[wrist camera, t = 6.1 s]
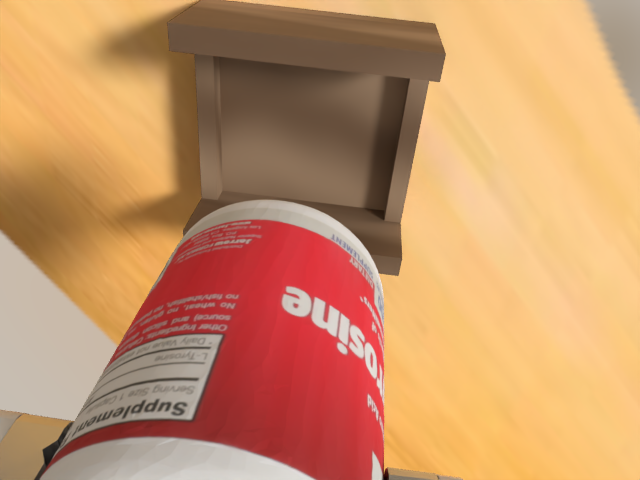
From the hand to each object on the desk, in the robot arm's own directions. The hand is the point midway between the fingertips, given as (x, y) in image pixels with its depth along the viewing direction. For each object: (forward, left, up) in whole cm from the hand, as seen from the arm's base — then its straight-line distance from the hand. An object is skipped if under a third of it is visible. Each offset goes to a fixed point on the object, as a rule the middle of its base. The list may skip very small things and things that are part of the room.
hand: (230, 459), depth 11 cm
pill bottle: (0, 0, -6) cm, 6 cm away
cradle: (0, 0, -18) cm, 18 cm away
